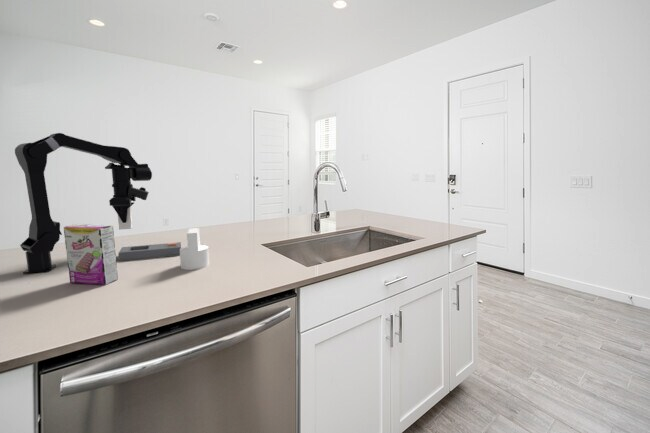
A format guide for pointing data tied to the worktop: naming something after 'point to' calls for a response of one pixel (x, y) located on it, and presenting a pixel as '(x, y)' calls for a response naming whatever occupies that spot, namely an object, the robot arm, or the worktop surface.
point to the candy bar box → (91, 254)
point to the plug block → (128, 223)
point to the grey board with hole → (149, 251)
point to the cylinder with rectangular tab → (194, 252)
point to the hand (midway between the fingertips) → (125, 221)
